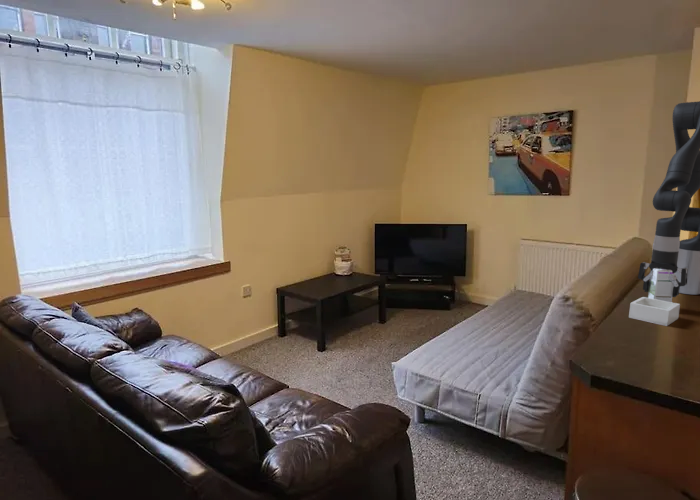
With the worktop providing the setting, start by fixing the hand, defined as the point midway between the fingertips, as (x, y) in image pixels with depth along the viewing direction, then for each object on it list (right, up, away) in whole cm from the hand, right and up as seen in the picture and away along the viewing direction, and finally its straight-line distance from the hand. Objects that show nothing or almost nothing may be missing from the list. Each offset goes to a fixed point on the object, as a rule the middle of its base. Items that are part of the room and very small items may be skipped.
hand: (660, 294), depth 164 cm
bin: (-8, -7, -9) cm, 14 cm away
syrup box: (0, -5, +1) cm, 5 cm away
